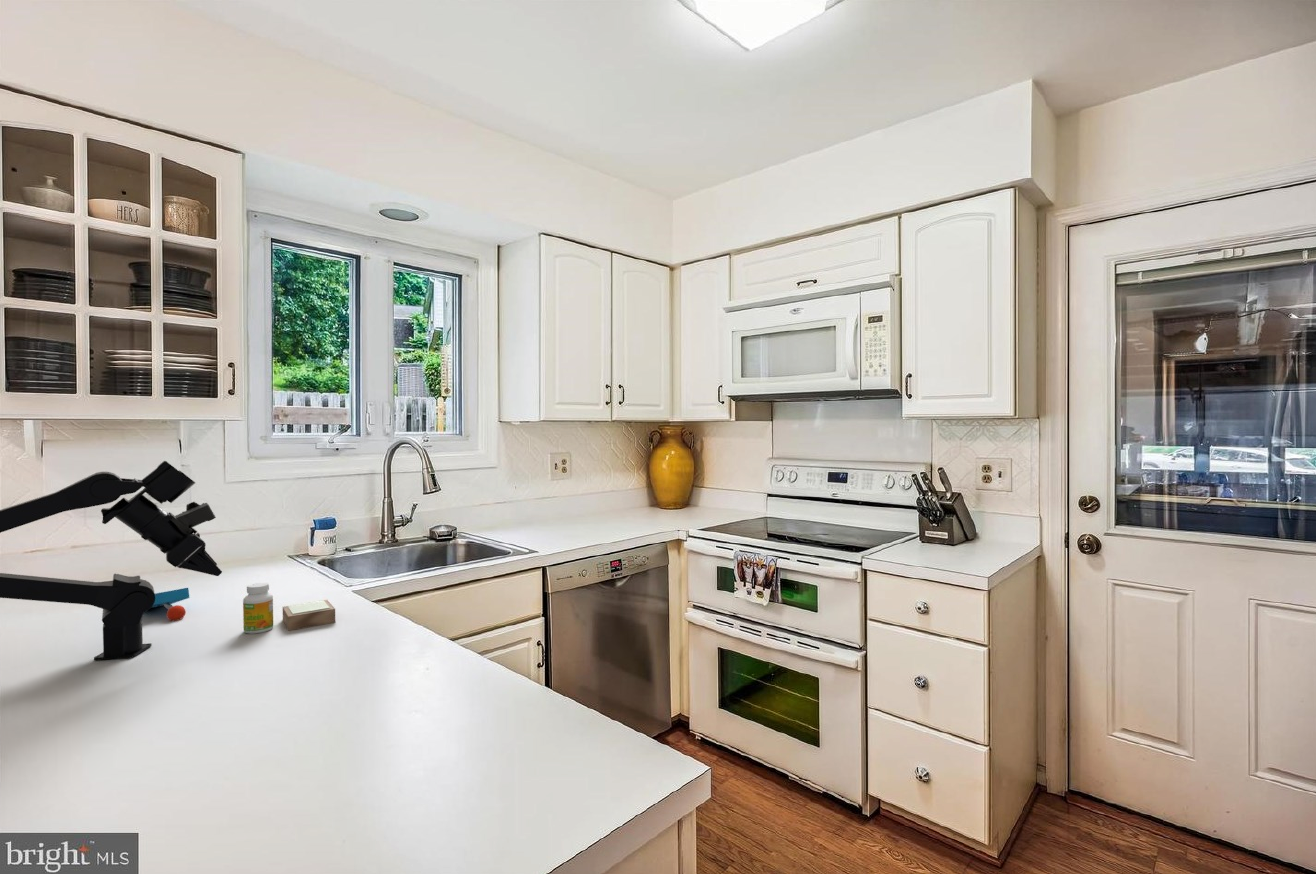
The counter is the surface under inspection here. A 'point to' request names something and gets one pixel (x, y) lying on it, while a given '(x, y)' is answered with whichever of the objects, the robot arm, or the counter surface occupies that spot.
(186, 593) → the lever
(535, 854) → the counter surface
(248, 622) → the supplement bottle
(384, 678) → the counter surface
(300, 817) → the counter surface
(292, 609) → the base brick
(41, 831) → the counter surface
